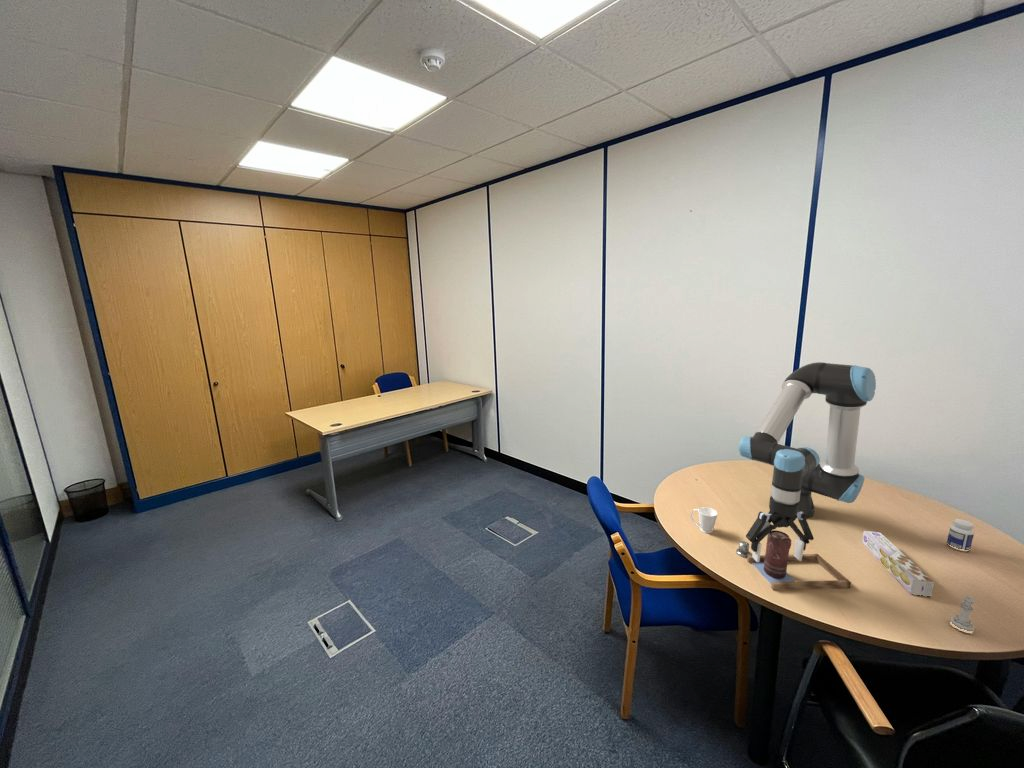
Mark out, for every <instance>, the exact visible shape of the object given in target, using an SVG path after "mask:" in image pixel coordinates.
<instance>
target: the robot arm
mask: <svg viewBox="0 0 1024 768" xmlns="http://www.w3.org/2000/svg"><path fill="white" fill-rule="evenodd" d="M876 381H877V379H876V376H875V373H874V371H873V370H872V369H871V368H870V367H866V366H865V367H864V366H859V365H856V364H853V365H851V364H840V363H830V362H821V361H820V362H819V361H818V362H811V363H808V364H806V365H802V366H801V367H799V368H798V369H797V368H796V370H794V371H793V372H792V373H790V374H789V375H788V376H787V377H786V378H785V379H784V381H783V382H782V384H781V389H782V390H781V391H780V393H779V395H778V396H777V398H776V400H775V402H773V404H772V406H771V407H770V409H769V411H768V412H767V414H766V415H765V417H764V419H763V420H762V422H761V423H760V425H759V426H758V427H757V430H756V431H755V433H754V435H752V436H747V435H746V436H745V435H744V437H742V438H741V440H740V441H739V444H738V452H739V455H740V456H741V457H744V458H747V459H749V460H752V461H756V462H759V463H763V464H767V465H770V466H773V472H772V478H771V479H772V480H771V490H770V498H769V502H768V508H769V511H768V512H767V513H764V512H763V511H759V512H758V513H757V518H756V520H755V521H753V522H754V523H753V524H752V525H751V527H750V528H749V530H748V531H747V533H746V534H745V538H746V539H747V540H748V541H749V542H750V543H751V544H750V549H751V550H752V552H751V553H752V555H751V556H752V557H753V558H754V559H755V561H756V562H759V561H760V556H761V552H762V551H761V550H762V543H761V541H762V540H764V539H765V538H766V537H768V534H769V533H770V532H771V531H773V530H776V529H777V528H791V530H792V531H793V532H794V533H795V534H796V535H797V537H796V538H795V541H794V542H795V543H794V551H793V555H794V557H796V558H797V559H798V560H799V562H803V561H802V555H803V554H804V551H805V550H806V549H807V548H806V546H807V544H810V541H814V535H813V533H812V530H811V527H810V525H809V523H808V519H807V518H811V517H813V516H814V514H815V504H814V500H813V497H812V493H813V494H814V493H815V494H816V495H821V496H824V497H827V498H830V499H832V500H833V499H834V500H836V501H838V502H839V501H840V502H843V503H848V504H851V503H854V502H855V501H856V500H857V499H858V496H859V494H860V492H861V491H862V488H863V485H864V482H865V476H864V475H862V474H860V473H859V472H860V469H859V468H858V467H859V466H857V465H856V464H855V461H856V451H857V442H858V435H859V434H858V433H859V425H860V418H861V417H860V416H861V409H862V408H863V407H864V406H865V407H866V406H867V404H868V402H871V401H872V400H873V399H874V397H875V393H876V388H877V385H876V384H877V383H876ZM812 394H816V395H817V394H818V395H823V396H825V398H824V399H825V403H827V404H828V405H829V412H828V413H829V416H828V424H827V425H828V426H827V438H826V448H825V460H822V461H821V458H820V456H819V454H818V453H817V451H816V450H815V449H812V448H811V447H807V446H802V447H797V448H795V447H791V446H788V445H785V444H784V445H783V444H779V443H780V440H781V439H782V438H783V435H784V434H785V433H786V431H787V429H788V427H789V426H790V424H791V422H792V421H793V419H794V417H795V416H796V414H797V412H798V411H799V409H800V407H801V406H802V404H803V403H804V401H805V400H807V399H809V398H810V397H811V396H812ZM796 520H798V522H799V525H800V528H801V530H800V529H799V527H798V526H797V524H796V523H795V522H796Z"/></svg>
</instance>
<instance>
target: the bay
mask: <svg viewBox="0 0 1024 768" xmlns="http://www.w3.org/2000/svg"><path fill="white" fill-rule="evenodd" d="M746 561H747V563H749V564H750V563H751V564H752V563H754V562H756V561H755V559H754V558H753V557H752V555H751V556H748V557H747V558H746ZM764 561H765V554H763V555H762V554H760V561H759V562H764ZM788 562H789V563H791V562H795V563H796V562H797V563H798V562H800V561H799V560H798V559H797V558H796V557H794V554H789V556H788ZM801 562H817V564H819V565H820V566H821V567H822V568H823V569H824V570H826V571H827V572H828V573H829V574H830V575H831V576H832V577H833V578H835V579H836V580H806V581H803V580H801V581H795V582H772V583H771V584H770V588H771V590H772V591H782V590H783V591H786V590H787V591H788V590H790V591H792V590H821V589H822V590H823V589H825V590H826V589H828V590H829V589H830V590H831V589H850V588H851V585H852V581H850V580H849V579H848V578H846V576H845V575H843V574H842V573H841V572H840V571H838V570H837V569H836V568H835V567H833V565H831V564H830V563H829V562H828V561H827V560H825V559H824V558H823V557H822V556H821V555H820V554H818V553H803V555H802V561H801Z"/></svg>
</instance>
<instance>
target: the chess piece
mask: <svg viewBox="0 0 1024 768" xmlns="http://www.w3.org/2000/svg"><path fill="white" fill-rule="evenodd" d="M961 599H962V600H963V603H961V602H960V603H959V607H961V612H960V613H959V614H957V615H955V616H952V617H951V618H950V620H951V622H952V624H954V625H955V626H957V627H958V628H960V629H964V630H967V631H973V630H974V631H975V626H974V625H973V623H972V620H971V619H970V612H973V611H974V608H973V606H972V605H973V604H975V603H976V600H974V599H973V598H972V597H971V596H970V595H968V596H967V595H962V596H961Z"/></svg>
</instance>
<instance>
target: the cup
mask: <svg viewBox="0 0 1024 768" xmlns="http://www.w3.org/2000/svg"><path fill="white" fill-rule="evenodd" d="M694 511H695V512H696V513H697V512H698V521H699V524H698V523H697V522H696V521H695V520H694V517H693V516H692V515H693V512H694ZM717 517H718V511H717V510H715V509H714V508H711V507H707V506H703V507H699V508H698V509H697V508H693V509H692V510H691V511H690V513H689V518H690V520H691V521H692V522H693V524H694V525H695V526H696V527H698V528H699V529H700V531H701V532H702V533H705V534H712V533H713V530H714V527H715V525H716V521H717Z"/></svg>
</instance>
